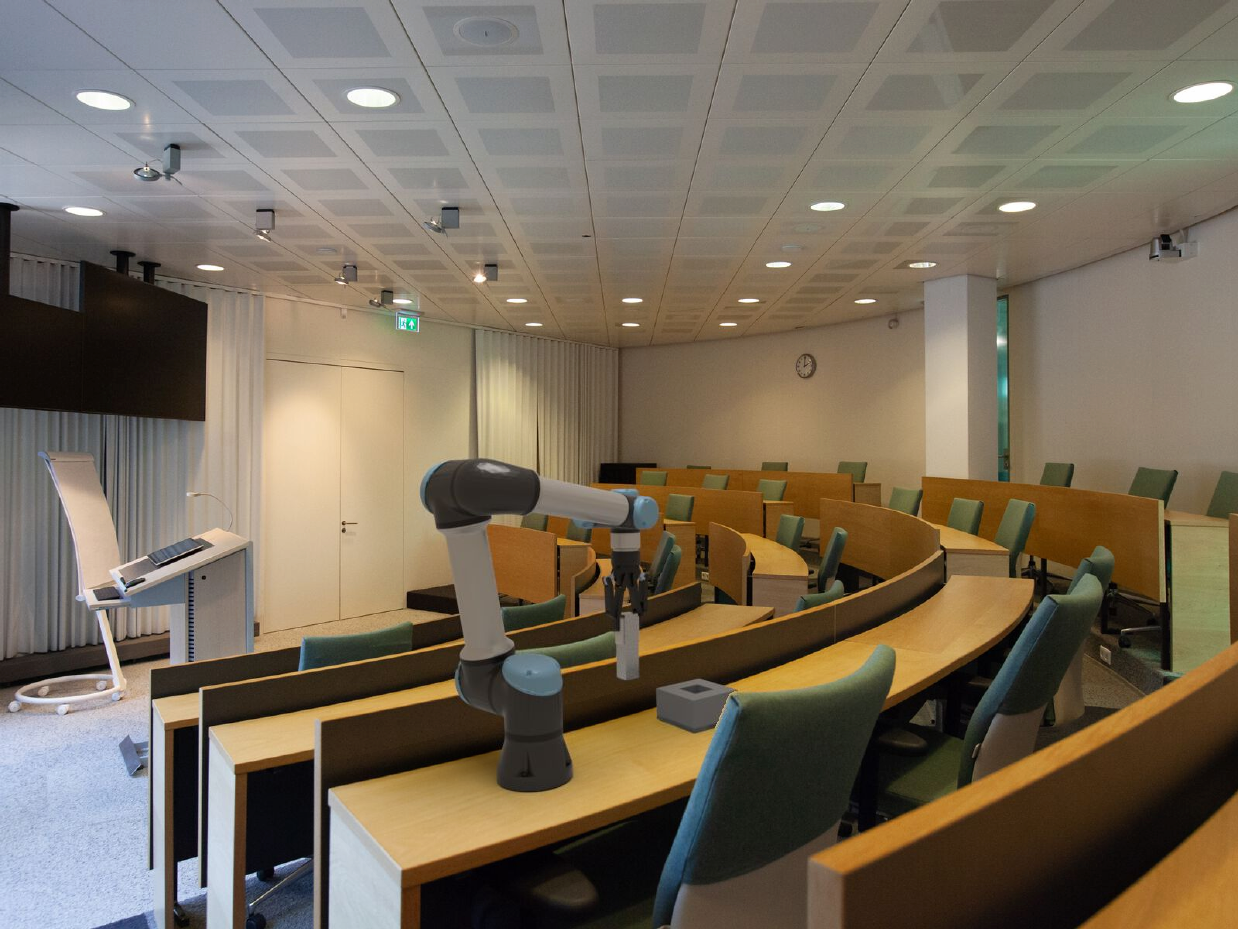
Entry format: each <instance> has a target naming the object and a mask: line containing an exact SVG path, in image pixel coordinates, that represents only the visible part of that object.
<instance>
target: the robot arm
mask: <svg viewBox="0 0 1238 929" xmlns="http://www.w3.org/2000/svg"><path fill="white" fill-rule="evenodd" d="M420 483H421V484H420V487H419V496H420V501H421V503H422V506H423V507H424V508H425V510H427V511H428V512H429V513H430V514H432V515H433V518H434V524H435V529H436V531H438V532H440V534H442V535H443V536H444V537H445V541H446V546H447V547H446V548H447V552H448V559H449V564H450V569H451V574H452V579H453V585H454V591H455V596H456V602H457V607H458V612H459V618H460V623H461V628H462V635H463V640H464V647H462V649H461V650H460V652H459V659H460V661H459V662H458V666H457V669H455V675H454V686H455V689H456V692H457V694H458V696H459V697H460V699H461V700H462V701H463V702H465V703H466V704H467V705H469V706H471V707H472V708H475V709H477V710H479V711H485V712H488V713H491V714H494V715H498V716H500V717H503V719H504V722H503V723H504V725H503V726H504V742H503V745H502V749H501V751H500V755H499V759H498V763H497V766H496V781H497V783H498V784H499V786H501V788H502V787H503V788H504V789H506V790H507V789H508V790H512V791H517V792H518V791H519V792H540V791H546V790H551V789H554V788H557V787H560V786H562V785H565V784H566V783H568V782H569V781H570V780H571V779H572V778H573V775H574V769H573V768H574V767H573V761H572V758H571V754H570V751H569V749H568V745H567V744H566V743H567V742H566V739H565V737H564V723H563V722H564V719H563V717H564V716H563V715H564V712H563V711H564V710H563V709H564V708H563V704H564V703H563V702H564V701H563V682H564V681H563V678H562V669H561V665H560V664H559V662H558V661H557V660H556V659H555V658H553V657H551V656H549V655H545V654H542V653H532V652H524V653H517V652H516V647H515V642H514V640H512V639H510V637H508V636H506V632H505V626H504V621H503V620H504V619H503V615H502V609H501V605H500V604H501V603H500V599H499V593H498V592H499V591H498V586H497V582H496V581H497V580H496V576H495V570H494V565H493V559H492V554H491V549H490V548H491V546H490V542H489V537H488V531H487V527H488V525H489V524H490V523H491V522H492V520H493V518H492V517H493V516H498V515H499V516H500V515H515V516H522V517H526V516H530V515H531V514H532V513H534V514H538V515H539V514H540V515H546V516H553V517H559V518H565V519H571V520H572V521H573V524H574V525H575V526H576V527H577V528H579V529H587V530H591V529H609V530H610V532H609V533H610V548H611V549H612V550H611V552H610V564H611V567H612V568H611V571H610V574H608V575H607V576H602V577H601V582H602V584H603V589H604V609H605V612H604V613H605V616H607V617H610V618H612V630H613V632H614V633H615V634H614V637H615V639H614V641H615V642H614V643H615V644H619V645H624V619H623V618H620V617H621V613H623V611H622V610H623V606H624V597H625V592H626V591H627V590H628V595H629V596H628V597H629V600H630V605H631V612H632V613H638V643H640V629H641V628H642V617H643V616H644V615H645V613H647V612H648V605H649V604H648V602H649V601H648V598H649V594H648V593H649V590H648V589H649V588H648V587H649V586H648V584H649V580H650V573H645V572H643V571H642V570H641V567H640V565H641V551H640V550H639V549H640V548H641V531H642V530H650V529H652V528H653V527H654V526H655V525H656V524H657V522H658V520H659V512H660V509H659V506H658V503H657V501H656V500H655V499H654V498H652V497H650V496H644V495H639V491H638V490H637V489H636V488H616V489H614V488H613V489H610V491H609V490H605V489H600V488H596V487H592V486H586V485H582V484H578V483H572V482H567V481H562V480H559V479H553V478H550V477H545V476H540V475H539V473H538V472H537V471H536V470H534V469H531V468H526V467H522V466H518V465H515V464H511V463H508V462H504V461H499V460H496V459H492V458H486V457H483V458H482V457H478V458H468V459H452V460H451V459H449V460H446V461H443V462H438V463H437V464H435V465H433V466H431V467H430V468H429V469H428V470H427V472H425V475H424V476H423V477H422V480H421V482H420Z"/></svg>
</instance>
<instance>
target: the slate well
mask: <svg viewBox="0 0 1238 929" xmlns="http://www.w3.org/2000/svg"><path fill="white" fill-rule="evenodd" d="M734 691H737V692H738V689H736V688H733V687H729V686H726V685H723V684H719V683H717V682H712V681H708V680H705V679H701V678H696V679H695V678H694V679H692V680H691V679H690V680H687V681H681V682H678V683H673V684H669V685H665V686H660V687H657V688H655V695H656V697H655V699H656V700H655V701H656V720H658V721H661V722H663V723H667V724H669V725H671V726H674V727H676V728H679V729H682V730H684V731H688V732H690V733H692V734H697V732H698V733H701V732H705V731H708V730H712V729H715V726H716V724H717V722H718V721H719V717H720V715H721V713H722V709H723V708H724V705H725V704H726V700H727V698H728V696H729V694H730V693H732V692H734Z"/></svg>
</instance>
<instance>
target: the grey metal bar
mask: <svg viewBox="0 0 1238 929" xmlns="http://www.w3.org/2000/svg"><path fill="white" fill-rule="evenodd" d="M620 618H623V619H624V645H619V644H616V647H615V648H616V651H615V652H616V678H618V679H621V680H624V681H629V680H635V679H640V657H639V656H640V655H639V653H640V650H639V642H638V613H633V612H632V611H625V612H623V611H622V612H621V617H620Z"/></svg>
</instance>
